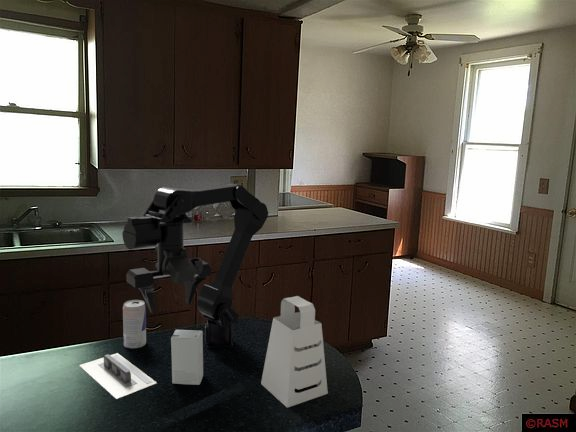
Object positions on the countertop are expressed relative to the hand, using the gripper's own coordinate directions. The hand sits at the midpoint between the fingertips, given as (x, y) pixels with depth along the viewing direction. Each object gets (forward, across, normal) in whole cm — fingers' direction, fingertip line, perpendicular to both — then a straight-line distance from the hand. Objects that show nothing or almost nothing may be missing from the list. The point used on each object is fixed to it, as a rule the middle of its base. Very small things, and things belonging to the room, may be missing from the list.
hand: (170, 308), depth 109 cm
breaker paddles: (+12, -13, -1) cm, 18 cm away
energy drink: (+14, -4, +11) cm, 18 cm away
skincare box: (+14, -2, -12) cm, 18 cm away
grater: (+13, +16, -26) cm, 34 cm away
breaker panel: (+13, -13, -1) cm, 19 cm away
